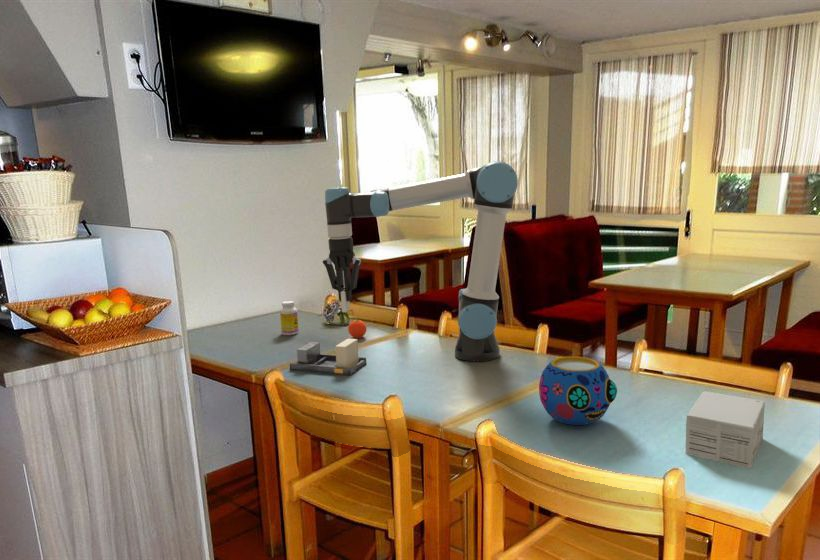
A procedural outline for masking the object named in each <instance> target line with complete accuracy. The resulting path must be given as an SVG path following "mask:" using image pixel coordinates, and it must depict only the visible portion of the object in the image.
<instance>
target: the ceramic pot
mask: <svg viewBox="0 0 820 560" xmlns="http://www.w3.org/2000/svg"><path fill="white" fill-rule="evenodd" d="M538 388H539V389H538V391H539V393H538V395H539V399H540V403H541V404H542V406H543V408H544V410H545V411H546V413H547V415H549V416H550V417H551V418H552V419H554V420H556V421H558V422H561V423H563V424H567V425H571V426H584V425H588V424H591V423H595V422H596V421H599V420H600V419H602V418H603V416H604V415H605V414H606V412H607V411H608V410H609V407H610V405H611V403H613V402H614V400H615V399H616V398H617V394H618V389H617V384H616V383H615V382H614V381H613V380H612V379H611V378H610V375H609V374H608V373H607V370H606V369H605V367H604V366H603V365H602V364H601V363H599V361H596V360H594V359H592V358H587V357H583V356H562V357H558V358H556V359H553V360H551V361H550V362H549V363H548V364H547V365H546V366H545V368H544V369H543V371H542V373H541V376H540V379H539V384H538Z"/></svg>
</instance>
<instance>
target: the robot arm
mask: <svg viewBox="0 0 820 560" xmlns="http://www.w3.org/2000/svg"><path fill="white" fill-rule="evenodd" d="M518 181H519V180H518V176H517V173H516V170H515V169H514V168H513V167H512V166H511V165H510V164H508V163H506V162H504V161H500V160H499V161H498V160H497V161H496V160H494V161H491V162H487V163H485V164H484V165H482V166H479V167H476V168H471V169H467V170H466V171H465V173H461V174H456V175H450V176H446V177H441V178H440V177H439V178H434V179H429V180H424V181H418V182H414V183H407V184H402V185H398V186H391V187H387V188H382V189H381V188H380V189H373V190H371V191H369V192H356V193H355V192H353V193H352V192H350V189H349V187H347V186H344V187H343V186H342V187H329V188H327V189H326V190H325V191H324V194H325V195H324V198H325V200H324V201H325V203H324V205H325V214H326V215H325V216H326V224H327V226H326V227H327V237H328V238H329V239H328V249H329V254H328V257H327V258H326V259H323V260H322V263H323V265H324V267H325V269H326V272H327V275H328V279H329V282H330V285H331V289H332V290H336V291H337V292H338V300H339V301H340V304H341V305H342V312H347V311H349V312H350V310H351V304H350V302H351V301H352V299H353V298H352V290H355V289H356V288H358V286H357V285H358V280H359V273H360V266H361V264H362V263H363V259H362V258H358V257H357V256H356V254H355V252H354V240H353V238H352V235H353V230H352V229H353V227H352V219H353V218H371V217H373V218H374V217H376V218H379V217H386V216H388V215H389V212H393V211H397V210H399V211H400V210H403V209H409V208H414V207H421V206H424V205H426V206H427V205H431V204H432V205H433V204H437V203H442V202H449V201H454V200H460V199H467V198H470V199H471V200H474V202H473V206H474V207H475V208H476V209H477V214H476V215H477V216H476V223H475V230H474V231H475V232H474V237H473V245H472V253H471V261H470V267H469V273H468V282H467V287H466V288H461V289H459V291H458V297H457V298H458V316H457V324H458V327H459V328H458V329H459V335H458V337H457V340H456V343H455V347H454V357H456V358H457V359H459V360H462V361H466V362H486V361H492V360H495V359H497V358H499V357H500V354H501V353H500V350H501V349H500V346H499V343H498V340H497V338H496V334H495V329H496V328H497V325H498V319H497V314H498V306H499V300H500V296H499V294H498V293H497V292H496V287H497V280H498V273H499V266H500V259H501V254H502V252H501V251H502V245H503V238H504V232H505V227H506V226H505V225H506V218H507V214H508V213H510V212H511V211H512V210H513V208H514V207H513V206H514V200H515V199H514V198H515V193H516V191H517V189H518V184H519V182H518ZM351 264H352V265H353V266H352V269H351ZM333 265H334V266H333ZM347 313H348V312H347Z"/></svg>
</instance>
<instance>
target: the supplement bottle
mask: <svg viewBox="0 0 820 560" xmlns="http://www.w3.org/2000/svg"><path fill="white" fill-rule="evenodd" d="M281 306H282V308H281V309H280V310H279V313H280V327H281V328H280V329H281V334H282V335H283V336H295V335H297V334H298V333H299V320H298V319H299V318H298V309H297V308H296V307H295V301H294V300H285V301H283V302H281Z"/></svg>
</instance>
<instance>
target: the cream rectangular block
mask: <svg viewBox="0 0 820 560" xmlns="http://www.w3.org/2000/svg"><path fill="white" fill-rule="evenodd" d="M358 339H359V338H346V339H345V340H343V341H341V342H340V343H338V344H336V345H335V355H336V364H337V367H346V368H352V367H353V366H355V365H356V364H357V363H359V358H358V357H359V344H358V343H359V342H358V341H359V340H358Z"/></svg>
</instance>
